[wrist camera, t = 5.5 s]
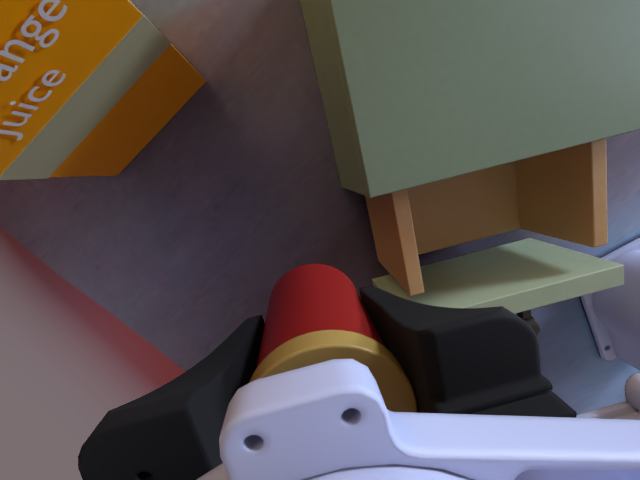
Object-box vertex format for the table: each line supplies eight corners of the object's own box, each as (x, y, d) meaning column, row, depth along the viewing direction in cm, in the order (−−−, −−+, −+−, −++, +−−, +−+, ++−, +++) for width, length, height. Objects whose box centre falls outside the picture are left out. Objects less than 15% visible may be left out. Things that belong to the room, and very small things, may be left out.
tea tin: (377, 320, 15) (445, 446, 8) (296, 364, 16) (297, 522, 9) (333, 242, 14) (371, 311, 7) (247, 290, 14) (202, 402, 7)
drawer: (534, 298, 24) (624, 346, 18) (384, 338, 24) (418, 402, 17) (517, 77, 20) (624, 32, 14) (337, 122, 20) (359, 98, 13)
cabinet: (521, 142, 22) (657, 125, 14) (341, 187, 22) (370, 198, 14) (503, -80, 19) (668, -276, 11) (292, -31, 19) (291, -192, 10)
